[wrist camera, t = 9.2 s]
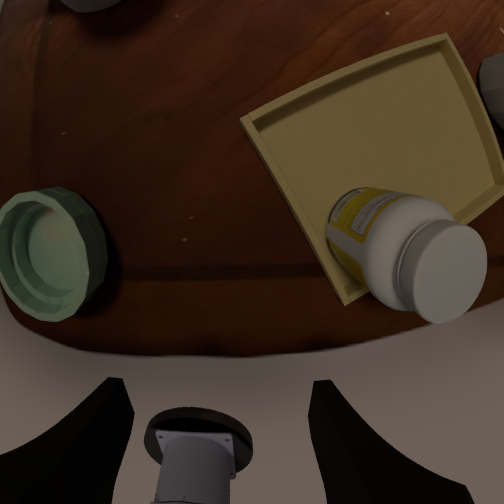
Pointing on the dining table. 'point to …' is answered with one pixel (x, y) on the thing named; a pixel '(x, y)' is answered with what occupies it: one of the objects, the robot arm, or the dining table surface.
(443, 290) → the supplement bottle
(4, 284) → the celadon dish
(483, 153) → the enamel tray
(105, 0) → the cup
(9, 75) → the dining table surface
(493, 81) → the water bottle
